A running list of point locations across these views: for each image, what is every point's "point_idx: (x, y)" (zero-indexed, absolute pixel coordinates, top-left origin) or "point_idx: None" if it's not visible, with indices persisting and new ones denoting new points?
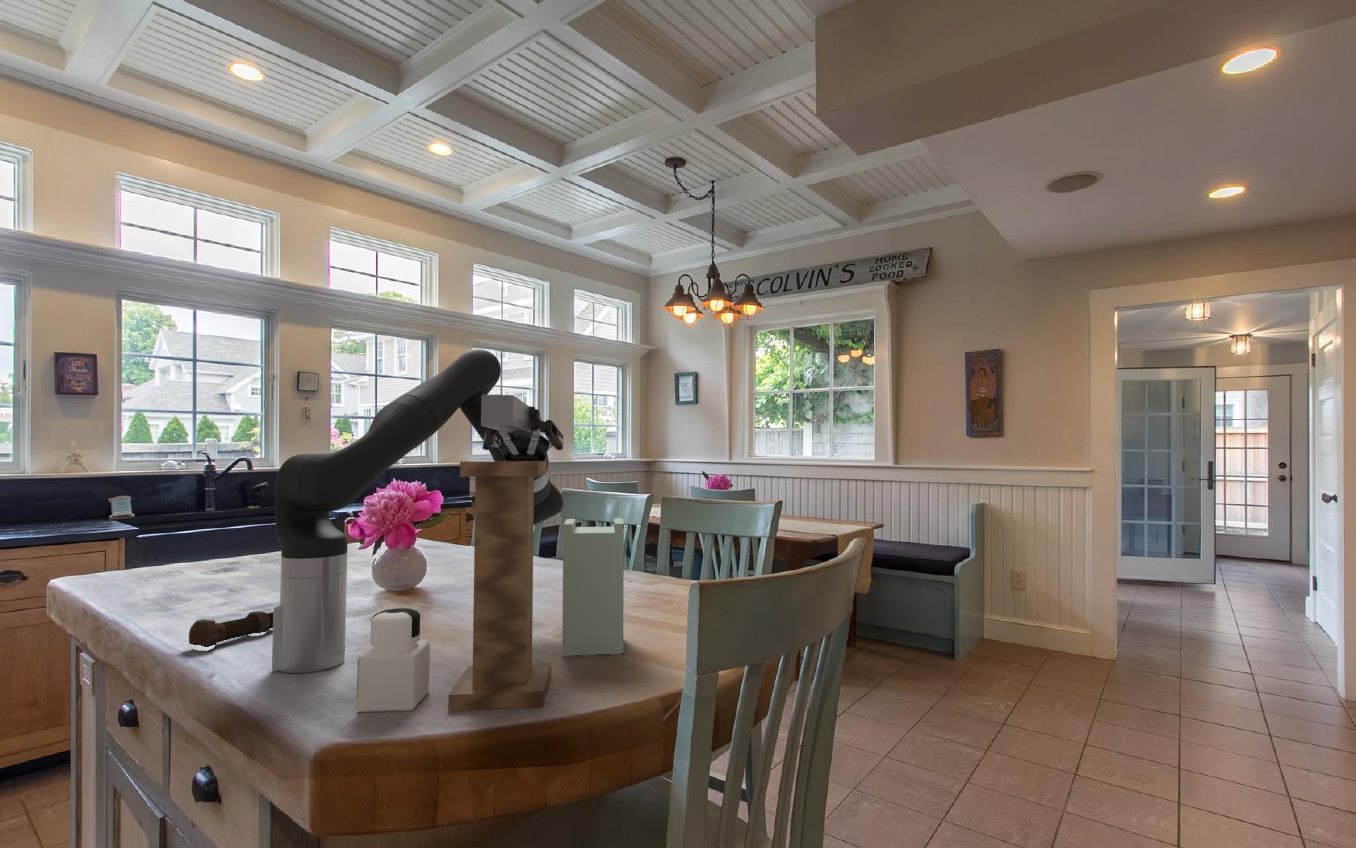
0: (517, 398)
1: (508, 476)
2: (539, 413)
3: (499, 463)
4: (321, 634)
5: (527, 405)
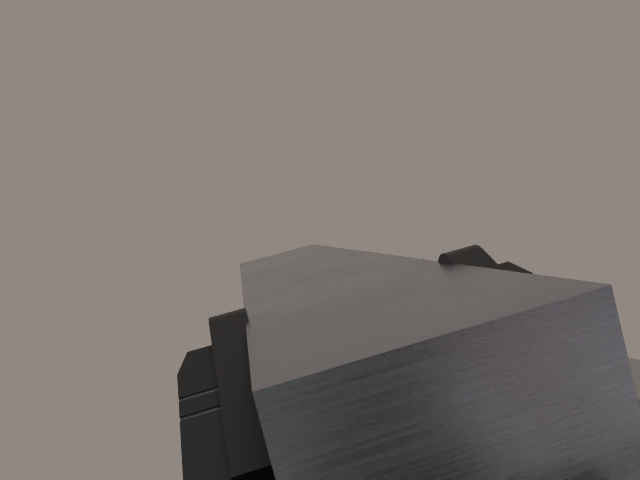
0: (240, 269)
1: None
2: (181, 402)
3: None
4: None
5: (243, 297)
